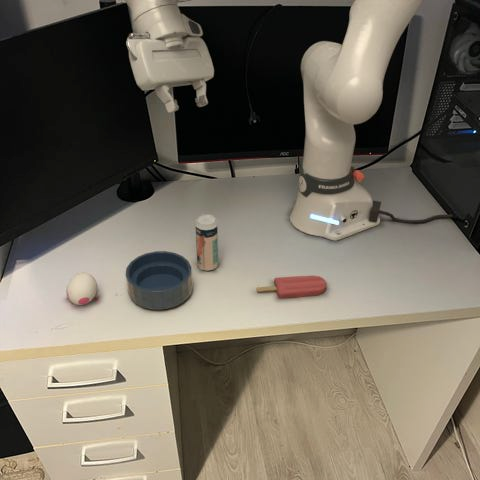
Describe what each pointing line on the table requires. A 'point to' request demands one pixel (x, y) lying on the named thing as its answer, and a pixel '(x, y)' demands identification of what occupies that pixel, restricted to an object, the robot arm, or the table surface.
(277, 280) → the popsicle
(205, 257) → the white capped supplement bottle
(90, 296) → the stress ball
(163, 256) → the bowl
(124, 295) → the table surface
